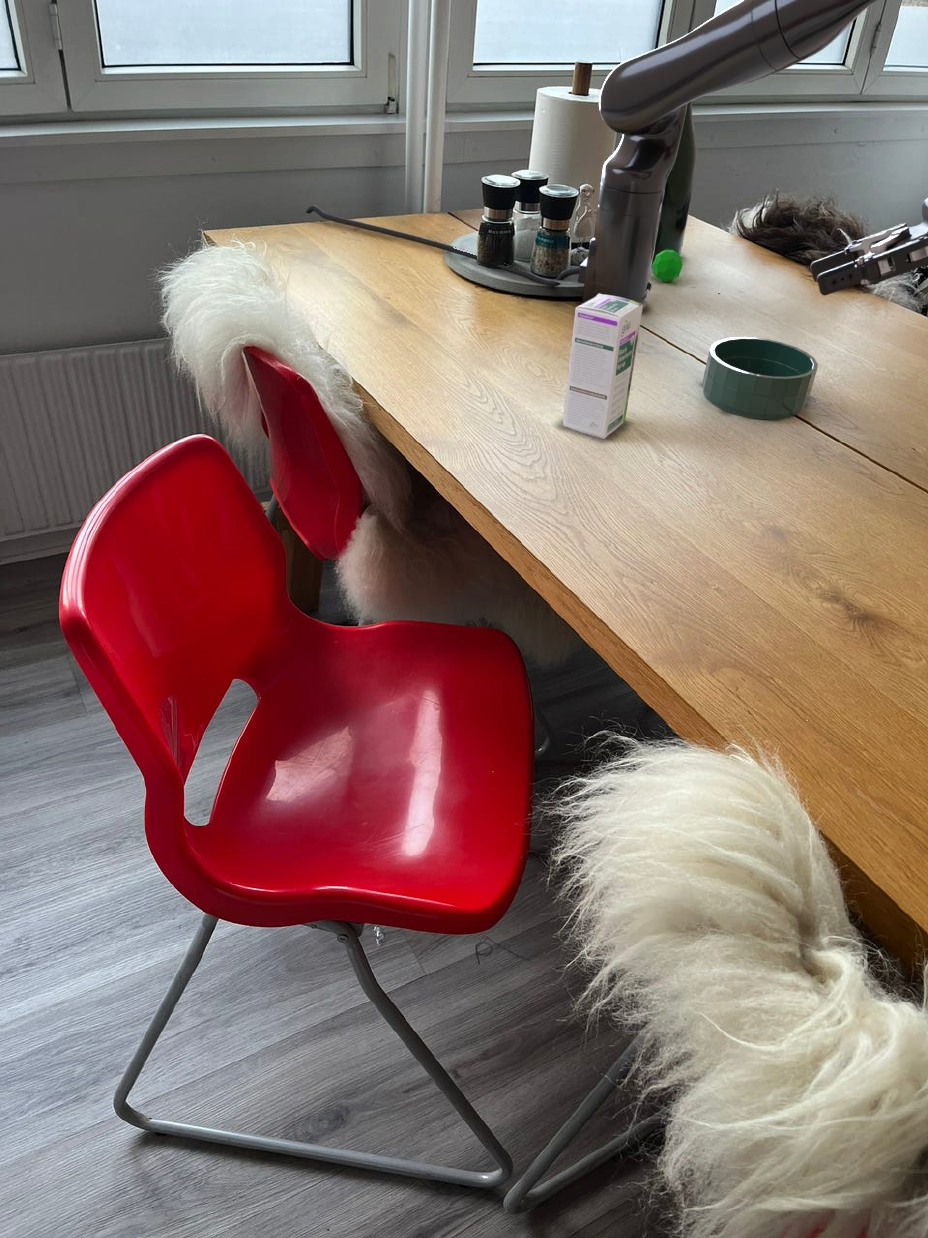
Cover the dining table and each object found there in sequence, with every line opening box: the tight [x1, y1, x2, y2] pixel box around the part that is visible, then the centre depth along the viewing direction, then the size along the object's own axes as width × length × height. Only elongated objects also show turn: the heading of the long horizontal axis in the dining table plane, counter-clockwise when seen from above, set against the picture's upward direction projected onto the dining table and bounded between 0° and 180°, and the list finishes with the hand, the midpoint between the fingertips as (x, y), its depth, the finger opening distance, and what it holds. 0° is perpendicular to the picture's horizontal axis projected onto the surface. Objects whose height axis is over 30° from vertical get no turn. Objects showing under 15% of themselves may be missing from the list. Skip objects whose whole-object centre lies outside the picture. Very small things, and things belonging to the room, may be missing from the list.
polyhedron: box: [651, 250, 684, 283], centre depth 156 cm, size 5×5×5 cm
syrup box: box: [562, 293, 643, 440], centre depth 108 cm, size 6×6×14 cm
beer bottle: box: [652, 101, 698, 262], centre depth 159 cm, size 10×10×33 cm
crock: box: [701, 336, 819, 421], centre depth 119 cm, size 13×13×6 cm
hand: (815, 279), depth 101 cm, fingers open, 8 cm apart
